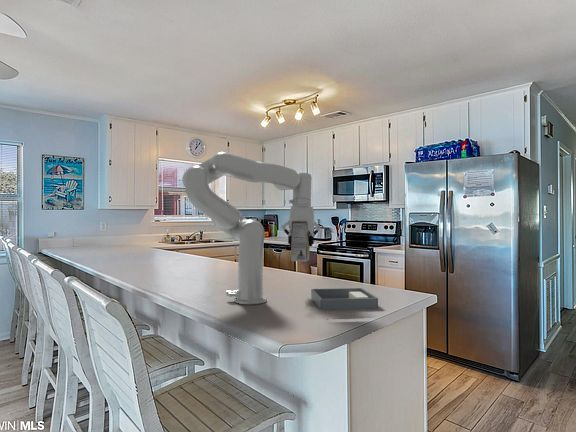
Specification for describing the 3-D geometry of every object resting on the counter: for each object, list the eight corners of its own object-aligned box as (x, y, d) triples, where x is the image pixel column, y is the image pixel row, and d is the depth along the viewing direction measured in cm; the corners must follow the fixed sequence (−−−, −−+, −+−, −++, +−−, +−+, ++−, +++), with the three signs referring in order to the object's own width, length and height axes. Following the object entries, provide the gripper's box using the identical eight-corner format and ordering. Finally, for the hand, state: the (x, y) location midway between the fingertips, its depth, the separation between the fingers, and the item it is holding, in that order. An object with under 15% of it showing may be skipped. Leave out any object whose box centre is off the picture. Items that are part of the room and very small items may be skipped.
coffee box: (294, 258, 155) (295, 221, 155) (309, 259, 153) (310, 221, 154) (290, 261, 146) (291, 221, 146) (306, 261, 144) (307, 221, 145)
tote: (320, 312, 125) (320, 299, 125) (311, 300, 143) (311, 288, 143) (378, 311, 127) (378, 298, 127) (361, 299, 146) (361, 288, 146)
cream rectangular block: (356, 305, 131) (356, 297, 131) (348, 299, 141) (348, 291, 141) (368, 305, 131) (368, 297, 131) (360, 299, 141) (360, 291, 141)
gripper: (281, 202, 145) (280, 246, 145) (324, 203, 147) (323, 247, 147) (279, 202, 153) (278, 244, 152) (320, 204, 155) (319, 245, 154)
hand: (300, 245), depth 150 cm, fingers closed on coffee box, 7 cm apart
